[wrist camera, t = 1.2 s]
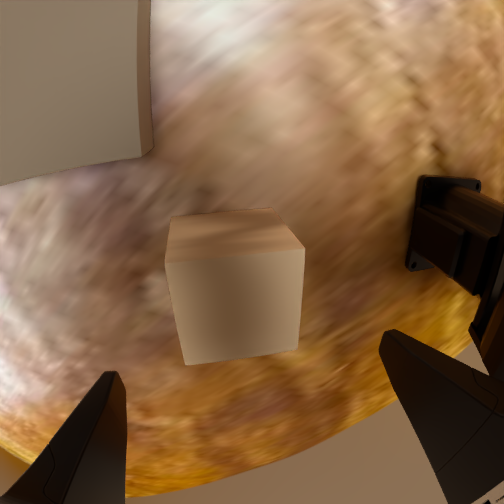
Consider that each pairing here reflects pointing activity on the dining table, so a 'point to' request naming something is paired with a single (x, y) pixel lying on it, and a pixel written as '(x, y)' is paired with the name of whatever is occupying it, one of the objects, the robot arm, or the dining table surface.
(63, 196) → the dining table surface
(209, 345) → the cream cube
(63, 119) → the gray block
